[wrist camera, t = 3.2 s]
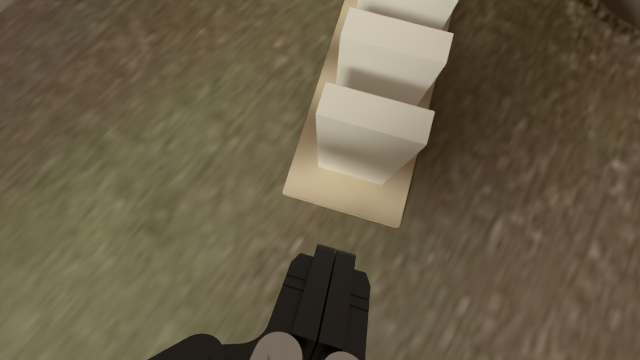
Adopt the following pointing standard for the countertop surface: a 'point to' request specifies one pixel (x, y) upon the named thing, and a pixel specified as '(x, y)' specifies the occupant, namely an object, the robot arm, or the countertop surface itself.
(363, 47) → the tile
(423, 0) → the tile
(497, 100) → the countertop surface
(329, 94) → the tile
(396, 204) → the domino board
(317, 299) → the robot arm
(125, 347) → the countertop surface
